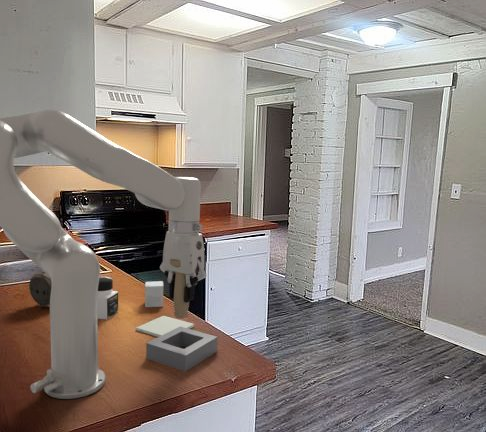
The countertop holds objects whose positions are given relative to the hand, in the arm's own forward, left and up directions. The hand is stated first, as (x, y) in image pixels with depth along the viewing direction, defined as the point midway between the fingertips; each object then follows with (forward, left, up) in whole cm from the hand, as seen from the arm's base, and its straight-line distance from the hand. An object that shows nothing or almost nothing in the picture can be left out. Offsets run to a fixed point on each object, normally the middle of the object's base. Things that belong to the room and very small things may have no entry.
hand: (181, 298), depth 112 cm
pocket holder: (0, 0, -15) cm, 15 cm away
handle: (0, 0, -5) cm, 5 cm away
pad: (+11, +15, -15) cm, 24 cm away
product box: (+25, +32, -15) cm, 44 cm away
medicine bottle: (+8, +38, -15) cm, 42 cm away
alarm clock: (+2, +58, -15) cm, 60 cm away
